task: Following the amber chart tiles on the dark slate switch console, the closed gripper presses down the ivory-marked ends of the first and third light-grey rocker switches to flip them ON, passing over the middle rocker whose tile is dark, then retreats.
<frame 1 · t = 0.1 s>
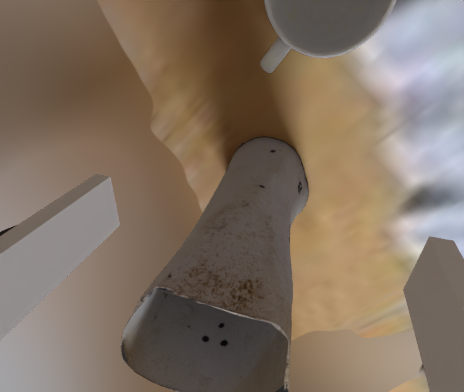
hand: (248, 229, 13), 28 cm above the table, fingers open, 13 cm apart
teacup: (316, 4, 31), on the table
vase: (273, 176, 42), on the table
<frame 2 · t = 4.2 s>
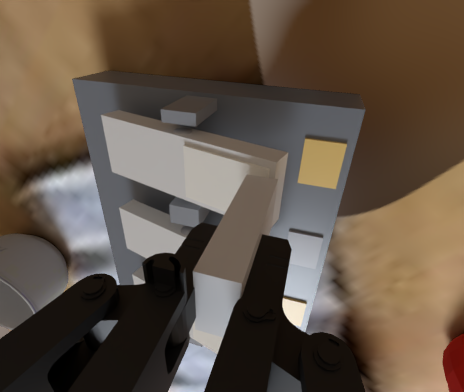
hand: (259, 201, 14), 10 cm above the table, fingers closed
rocker 1: (183, 164, 18), point 7 cm above the table, hinge at 15.0°, touching gripper
rocker 3: (191, 315, 25), point 7 cm above the table, hinge at 15.0°
teacup: (43, 258, 40), on the table
console: (219, 202, 27), on the table
rocker 2: (188, 253, 21), point 7 cm above the table, hinge at 15.0°
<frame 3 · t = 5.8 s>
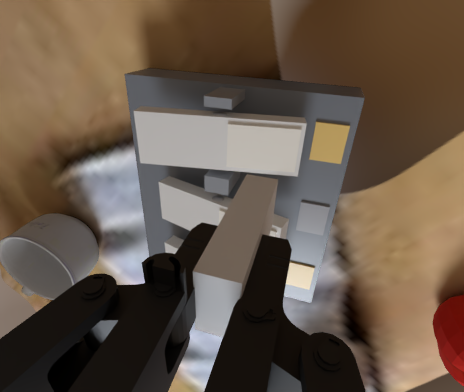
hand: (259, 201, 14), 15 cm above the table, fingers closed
rocker 1: (219, 141, 22), point 7 cm above the table, hinge at -10.6°
rocker 3: (216, 277, 29), point 7 cm above the table, hinge at 15.0°
teacup: (75, 238, 45), on the table
console: (239, 182, 31), on the table
rocker 2: (217, 219, 25), point 7 cm above the table, hinge at 15.0°
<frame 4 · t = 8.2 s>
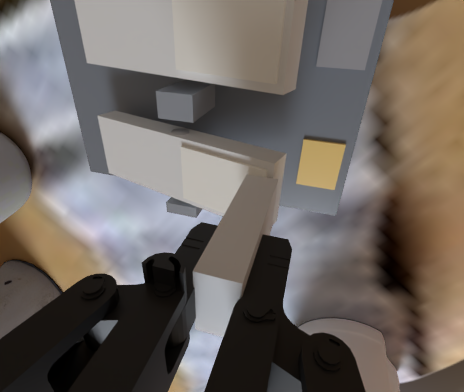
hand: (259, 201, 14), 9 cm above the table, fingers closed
rocker 3: (181, 165, 17), point 7 cm above the table, hinge at 14.7°, touching gripper
teacup: (3, 166, 33), on the table
console: (220, 25, 20), on the table
jar: (341, 351, 33), on the table
rocker 2: (173, 28, 14), point 7 cm above the table, hinge at 15.0°
vase: (42, 289, 44), on the table
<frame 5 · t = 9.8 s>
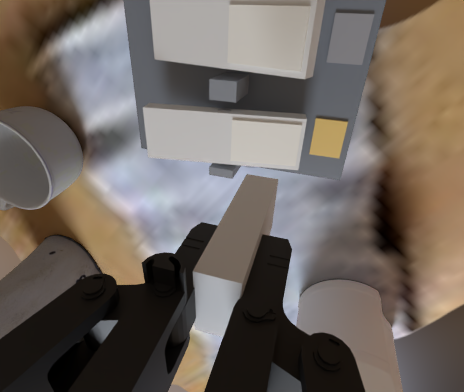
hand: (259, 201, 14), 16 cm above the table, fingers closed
rocker 3: (223, 136, 23), point 7 cm above the table, hinge at -10.2°
teacup: (56, 149, 39), on the table
console: (251, 32, 25), on the table
jar: (344, 311, 38), on the table
rocker 2: (225, 34, 19), point 7 cm above the table, hinge at 15.0°
vase: (77, 263, 50), on the table
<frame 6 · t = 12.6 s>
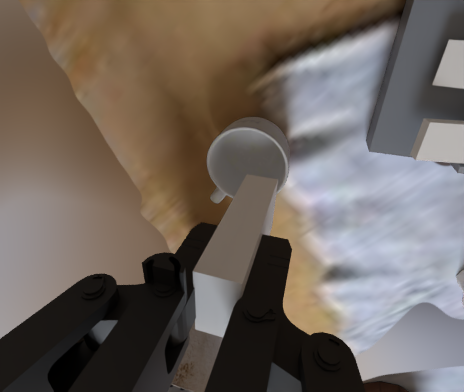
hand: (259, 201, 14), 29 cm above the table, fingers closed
teacup: (250, 151, 46), on the table
vase: (231, 250, 57), on the table
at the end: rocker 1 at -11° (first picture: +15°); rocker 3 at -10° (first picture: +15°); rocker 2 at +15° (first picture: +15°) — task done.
